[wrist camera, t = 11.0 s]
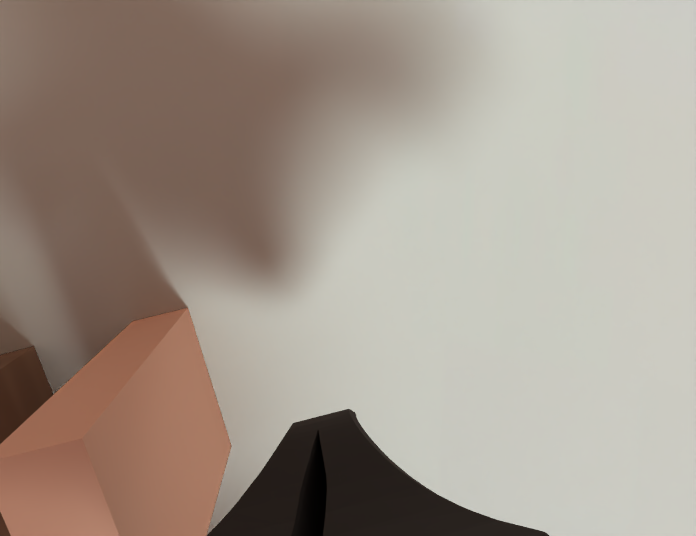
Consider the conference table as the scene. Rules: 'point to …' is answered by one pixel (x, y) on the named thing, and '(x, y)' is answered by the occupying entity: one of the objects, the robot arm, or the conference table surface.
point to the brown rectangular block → (20, 394)
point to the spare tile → (122, 443)
